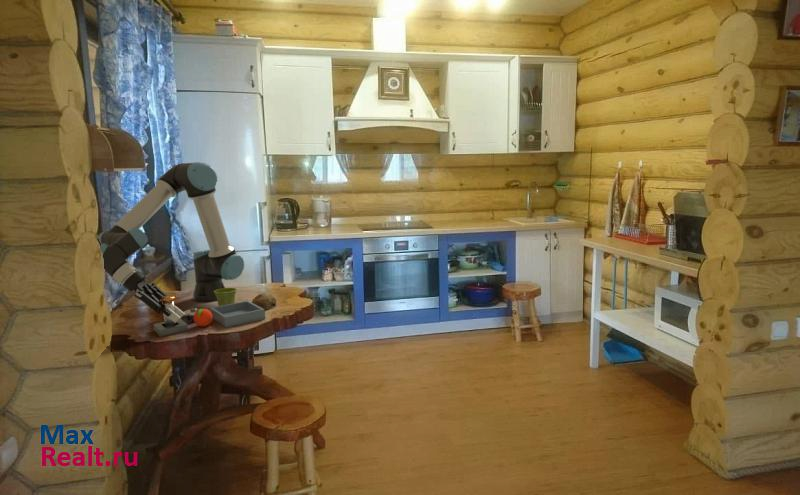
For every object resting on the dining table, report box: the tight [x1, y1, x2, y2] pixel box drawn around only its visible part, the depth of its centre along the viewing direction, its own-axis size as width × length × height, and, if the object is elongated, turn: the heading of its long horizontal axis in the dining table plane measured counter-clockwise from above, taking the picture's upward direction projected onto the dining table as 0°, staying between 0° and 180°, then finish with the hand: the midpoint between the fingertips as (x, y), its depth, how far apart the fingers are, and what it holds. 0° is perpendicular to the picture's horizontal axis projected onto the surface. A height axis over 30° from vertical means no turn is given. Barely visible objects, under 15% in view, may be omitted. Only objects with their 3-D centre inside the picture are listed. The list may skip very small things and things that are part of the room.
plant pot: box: [214, 287, 238, 306], centre depth 211 cm, size 9×9×9 cm
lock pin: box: [160, 295, 176, 327], centre depth 184 cm, size 5×5×13 cm
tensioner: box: [153, 307, 201, 338], centre depth 191 cm, size 18×20×4 cm
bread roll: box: [251, 292, 277, 310], centre depth 213 cm, size 10×10×8 cm
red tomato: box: [193, 307, 214, 327], centre depth 188 cm, size 8×7×7 cm
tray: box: [209, 300, 266, 328], centre depth 198 cm, size 18×16×4 cm
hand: (180, 318), depth 184 cm, fingers closed on lock pin, 4 cm apart
